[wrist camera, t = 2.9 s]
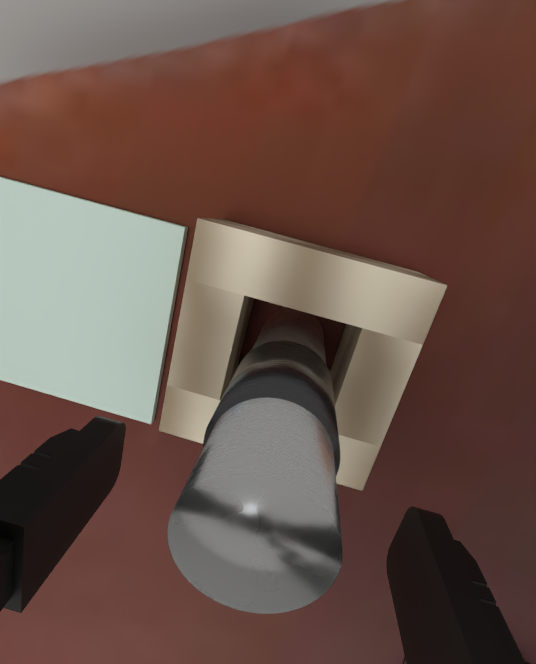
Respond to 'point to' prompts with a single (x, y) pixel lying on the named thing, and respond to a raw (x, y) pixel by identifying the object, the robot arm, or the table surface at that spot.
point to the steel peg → (266, 479)
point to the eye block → (307, 296)
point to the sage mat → (86, 298)
